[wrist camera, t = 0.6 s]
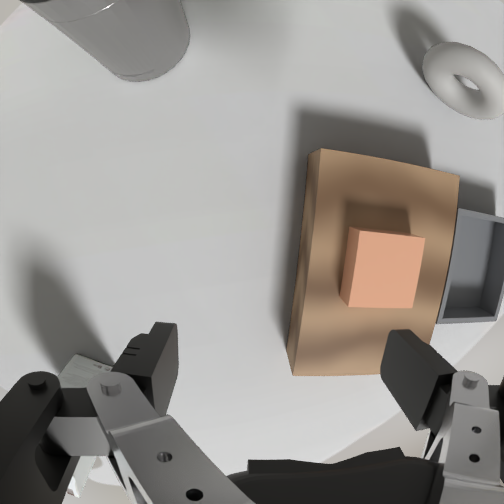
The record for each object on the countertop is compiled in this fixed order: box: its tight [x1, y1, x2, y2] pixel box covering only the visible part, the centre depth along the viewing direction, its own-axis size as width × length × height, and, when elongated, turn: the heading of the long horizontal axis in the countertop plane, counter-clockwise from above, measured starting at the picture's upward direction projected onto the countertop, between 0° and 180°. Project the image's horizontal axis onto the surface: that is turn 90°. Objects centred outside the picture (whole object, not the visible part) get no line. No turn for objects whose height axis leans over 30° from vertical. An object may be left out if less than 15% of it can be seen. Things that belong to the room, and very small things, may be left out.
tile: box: [339, 226, 425, 308], centre depth 25 cm, size 6×6×2 cm
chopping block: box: [286, 148, 460, 376], centre depth 29 cm, size 20×14×5 cm
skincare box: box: [58, 354, 113, 497], centre depth 26 cm, size 8×6×15 cm
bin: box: [435, 208, 504, 324], centre depth 30 cm, size 12×10×4 cm
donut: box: [422, 42, 504, 120], centre depth 23 cm, size 10×4×10 cm, turn 59°
